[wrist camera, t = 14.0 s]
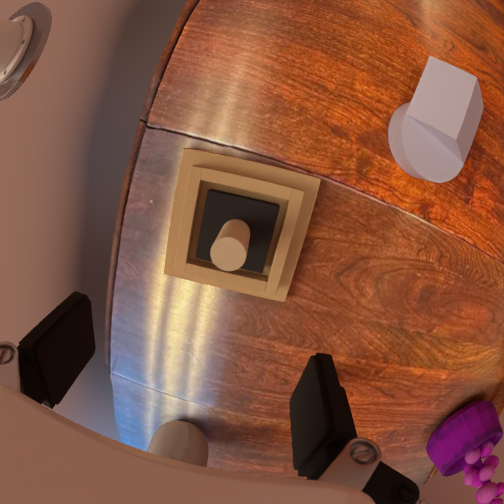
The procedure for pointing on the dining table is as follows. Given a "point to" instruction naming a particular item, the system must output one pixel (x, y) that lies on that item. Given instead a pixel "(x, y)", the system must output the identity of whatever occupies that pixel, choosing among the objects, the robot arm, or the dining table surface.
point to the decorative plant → (470, 448)
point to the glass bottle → (180, 443)
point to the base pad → (246, 184)
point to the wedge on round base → (437, 123)
